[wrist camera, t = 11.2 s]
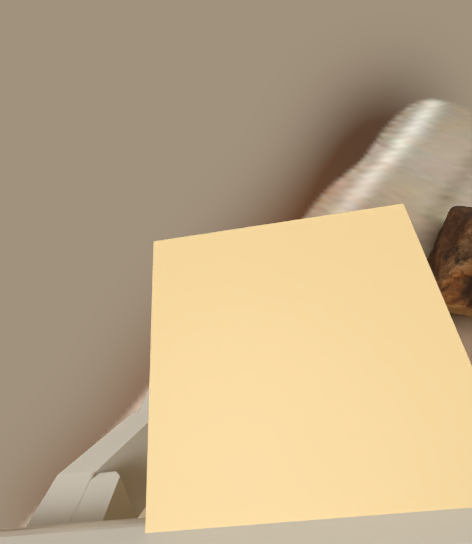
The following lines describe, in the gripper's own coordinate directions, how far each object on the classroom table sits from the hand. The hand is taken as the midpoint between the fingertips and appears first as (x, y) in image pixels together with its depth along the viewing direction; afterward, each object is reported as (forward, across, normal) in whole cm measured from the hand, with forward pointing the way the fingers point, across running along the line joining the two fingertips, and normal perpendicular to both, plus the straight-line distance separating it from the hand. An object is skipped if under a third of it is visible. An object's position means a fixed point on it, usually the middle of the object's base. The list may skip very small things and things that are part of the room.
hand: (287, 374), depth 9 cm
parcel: (+3, 0, +4) cm, 5 cm away
